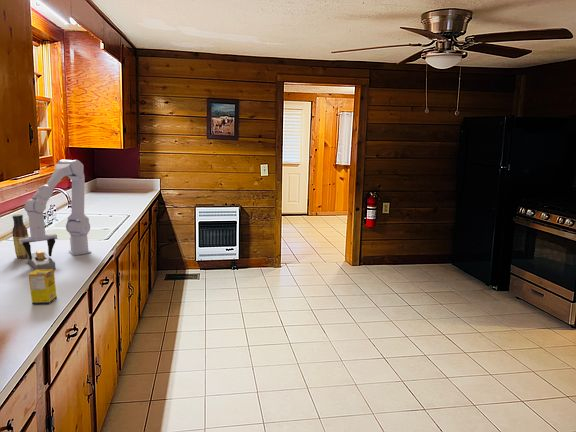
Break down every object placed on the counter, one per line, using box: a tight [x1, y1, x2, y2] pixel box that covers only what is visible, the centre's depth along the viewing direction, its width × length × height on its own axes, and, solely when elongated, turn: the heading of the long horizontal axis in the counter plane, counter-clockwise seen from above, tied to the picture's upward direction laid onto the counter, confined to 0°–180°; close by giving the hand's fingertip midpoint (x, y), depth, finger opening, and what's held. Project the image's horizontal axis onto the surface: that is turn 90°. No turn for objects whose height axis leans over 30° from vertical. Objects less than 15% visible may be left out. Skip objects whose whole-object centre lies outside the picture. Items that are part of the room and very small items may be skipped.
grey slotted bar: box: [26, 251, 57, 271], centre depth 212 cm, size 22×7×3 cm, turn 37°
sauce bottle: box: [12, 214, 30, 260], centre depth 223 cm, size 7×6×20 cm
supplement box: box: [28, 269, 57, 305], centre depth 168 cm, size 6×6×11 cm
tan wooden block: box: [35, 250, 45, 260], centre depth 211 cm, size 4×2×6 cm, turn 38°
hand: (40, 257), depth 211 cm, fingers open, 7 cm apart
